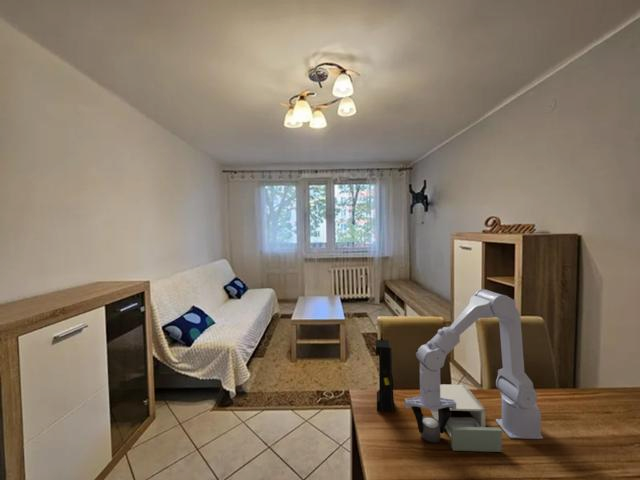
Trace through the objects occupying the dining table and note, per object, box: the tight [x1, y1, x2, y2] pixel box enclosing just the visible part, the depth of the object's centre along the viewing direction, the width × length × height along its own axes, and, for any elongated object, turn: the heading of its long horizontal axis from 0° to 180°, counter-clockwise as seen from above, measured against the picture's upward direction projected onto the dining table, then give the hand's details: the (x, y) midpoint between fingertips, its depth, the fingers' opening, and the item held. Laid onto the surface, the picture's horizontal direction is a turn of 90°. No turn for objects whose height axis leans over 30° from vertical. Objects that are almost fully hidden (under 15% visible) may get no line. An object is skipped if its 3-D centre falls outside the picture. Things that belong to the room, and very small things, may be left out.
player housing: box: [429, 383, 486, 427], centre depth 95 cm, size 14×14×6 cm
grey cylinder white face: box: [420, 416, 441, 443], centre depth 84 cm, size 6×6×4 cm
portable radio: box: [375, 332, 395, 413], centre depth 99 cm, size 8×6×25 cm
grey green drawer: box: [444, 416, 503, 453], centre depth 85 cm, size 13×13×6 cm
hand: (430, 430), depth 84 cm, fingers closed on grey cylinder white face, 5 cm apart
